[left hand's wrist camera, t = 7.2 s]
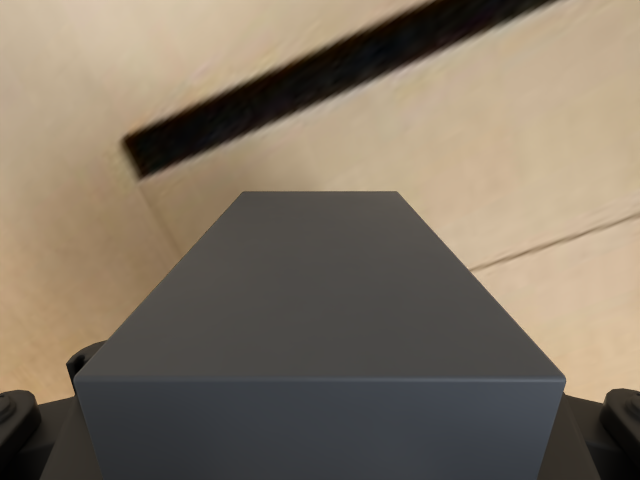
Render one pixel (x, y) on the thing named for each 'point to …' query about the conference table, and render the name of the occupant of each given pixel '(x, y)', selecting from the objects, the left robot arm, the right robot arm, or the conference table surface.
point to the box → (319, 356)
